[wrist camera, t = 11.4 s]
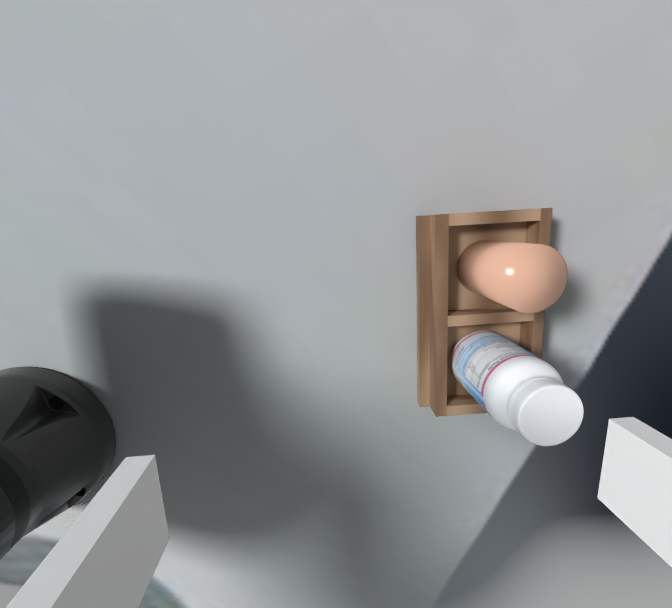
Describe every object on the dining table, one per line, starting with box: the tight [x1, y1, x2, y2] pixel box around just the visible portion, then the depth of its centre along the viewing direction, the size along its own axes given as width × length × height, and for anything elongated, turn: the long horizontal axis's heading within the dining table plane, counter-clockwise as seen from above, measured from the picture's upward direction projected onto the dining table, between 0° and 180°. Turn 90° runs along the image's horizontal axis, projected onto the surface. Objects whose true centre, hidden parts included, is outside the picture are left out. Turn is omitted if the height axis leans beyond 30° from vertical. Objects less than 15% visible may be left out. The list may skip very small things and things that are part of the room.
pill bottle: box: [450, 330, 584, 446], centre depth 29 cm, size 6×6×11 cm
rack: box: [416, 208, 552, 417], centre depth 33 cm, size 12×19×3 cm, turn 3°
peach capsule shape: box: [456, 240, 568, 313], centre depth 29 cm, size 5×5×8 cm
